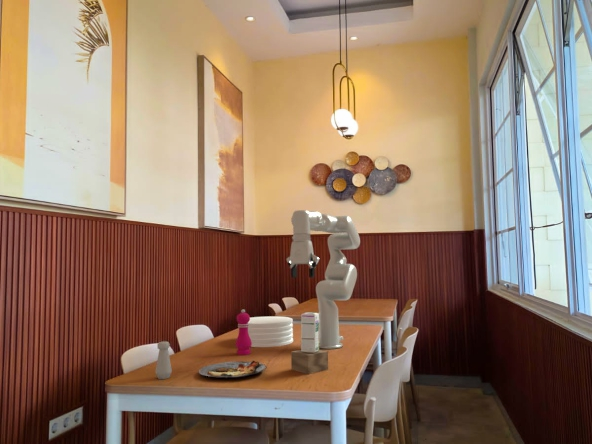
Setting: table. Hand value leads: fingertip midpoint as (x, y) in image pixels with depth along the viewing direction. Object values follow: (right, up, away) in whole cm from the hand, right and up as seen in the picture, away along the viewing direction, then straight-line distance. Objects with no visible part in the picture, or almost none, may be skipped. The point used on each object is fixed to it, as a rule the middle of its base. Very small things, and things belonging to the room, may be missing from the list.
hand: (302, 277), depth 203 cm
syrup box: (+2, -26, -25) cm, 36 cm away
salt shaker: (-52, -33, -33) cm, 70 cm away
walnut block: (+2, -33, -25) cm, 41 cm away
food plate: (-27, -33, -28) cm, 51 cm away
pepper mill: (-27, -36, +7) cm, 45 cm away
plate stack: (-19, -38, +37) cm, 56 cm away
